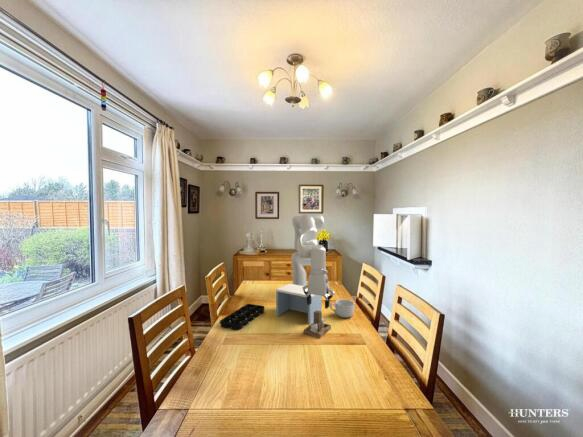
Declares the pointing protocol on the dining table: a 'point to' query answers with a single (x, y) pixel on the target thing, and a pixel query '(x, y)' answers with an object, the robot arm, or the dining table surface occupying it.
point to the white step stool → (296, 301)
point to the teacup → (343, 308)
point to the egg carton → (242, 316)
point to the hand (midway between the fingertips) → (318, 306)
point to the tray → (317, 326)
